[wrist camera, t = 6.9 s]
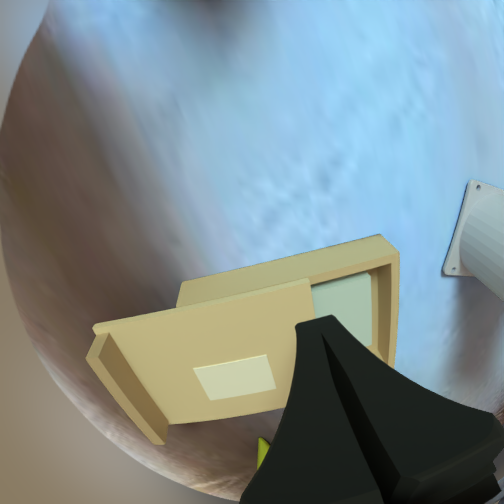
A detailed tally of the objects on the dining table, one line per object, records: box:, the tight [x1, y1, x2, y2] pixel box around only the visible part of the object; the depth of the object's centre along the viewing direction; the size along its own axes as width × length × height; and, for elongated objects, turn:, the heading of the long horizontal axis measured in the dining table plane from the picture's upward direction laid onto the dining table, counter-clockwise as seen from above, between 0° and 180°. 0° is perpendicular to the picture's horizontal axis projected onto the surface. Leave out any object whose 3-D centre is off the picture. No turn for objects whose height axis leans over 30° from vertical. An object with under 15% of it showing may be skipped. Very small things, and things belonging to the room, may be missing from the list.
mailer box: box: [176, 234, 400, 369], centre depth 22 cm, size 14×11×3 cm
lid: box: [86, 278, 316, 445], centre depth 19 cm, size 14×11×3 cm
